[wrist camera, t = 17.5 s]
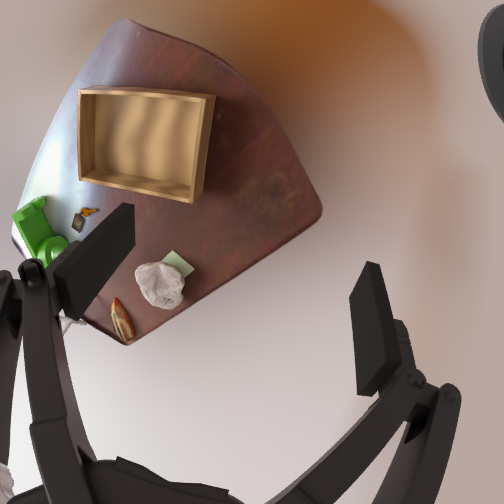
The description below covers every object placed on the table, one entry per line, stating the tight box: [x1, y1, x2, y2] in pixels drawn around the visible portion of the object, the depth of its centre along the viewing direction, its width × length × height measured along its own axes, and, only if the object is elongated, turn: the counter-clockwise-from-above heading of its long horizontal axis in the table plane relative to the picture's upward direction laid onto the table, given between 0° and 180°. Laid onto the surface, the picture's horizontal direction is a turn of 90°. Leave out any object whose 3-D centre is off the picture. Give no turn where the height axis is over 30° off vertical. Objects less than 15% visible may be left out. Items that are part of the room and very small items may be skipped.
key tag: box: [72, 208, 97, 233], centre depth 50 cm, size 8×3×1 cm, turn 131°
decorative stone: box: [110, 297, 135, 341], centre depth 64 cm, size 14×6×2 cm, turn 3°
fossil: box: [135, 261, 185, 310], centre depth 53 cm, size 9×6×10 cm
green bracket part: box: [12, 196, 69, 268], centre depth 51 cm, size 15×7×5 cm
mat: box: [162, 250, 195, 278], centre depth 55 cm, size 11×5×1 cm, turn 135°
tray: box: [77, 86, 216, 204], centre depth 39 cm, size 19×14×4 cm
